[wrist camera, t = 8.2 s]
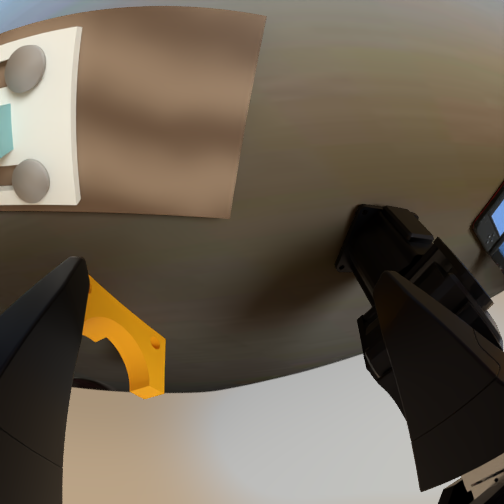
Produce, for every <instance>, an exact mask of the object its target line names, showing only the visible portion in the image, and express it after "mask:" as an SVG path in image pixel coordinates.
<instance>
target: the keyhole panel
mask: <svg viewBox="0 0 504 504" xmlns="http://www.w3.org/2000/svg"><path fill="white" fill-rule="evenodd" d="M81 34H82V27H71V28H65V29H60V30H55V31H50V32H46V33H42V34H38V35H34V36H30V37H26V38H23V39H19V40H16V41H12V42H9V43H6V44H3V45H0V62H3V61H6V60H8V59H9V58H10V56H11V55H12V53H13V52H14V51H15V50H17V49H18V48H20V47H22V46H25V45H37V46H39V47H40V48H41V49H42V50H43V51H44V53H45V56H46V69H45V72H44V75H43V77H42V79H41V80H40V82H39V83H38V84H37V85H36V86H35V87H34V88H33V89H31V90H29V91H26V92H22V93H15V92H13V91H11V90H10V89H9V88H8V86H7V87H3V88H0V166H11V165H18V164H20V163H21V162H22V161H24V160H26V159H35V160H38V161H39V162H41V163H42V164H43V165H44V166H45V168H46V170H47V171H48V174H49V178H50V186H49V190H48V192H47V194H46V195H45V196H44V197H43V198H42V199H41V200H40V201H39V202H37V203H27V202H25V201H23V200H21V199H20V198H19V197H18V196H17V194H16V193H15V191H14V188H13V185H11V186H0V205H77V204H78V203H79V201H80V200H81V196H80V187H79V176H78V163H77V144H76V92H77V73H78V61H79V51H80V42H81Z"/></svg>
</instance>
